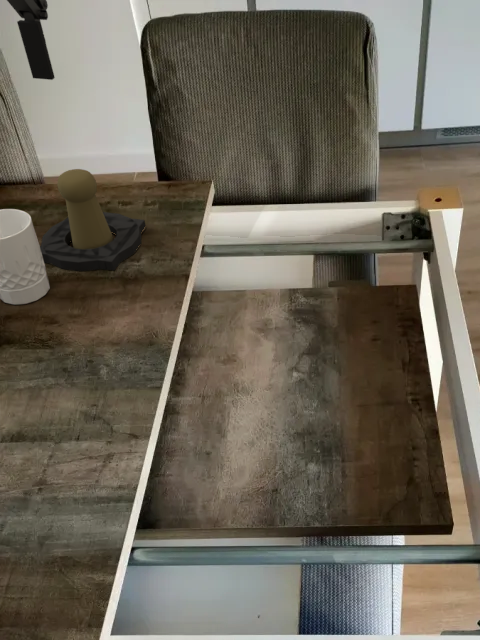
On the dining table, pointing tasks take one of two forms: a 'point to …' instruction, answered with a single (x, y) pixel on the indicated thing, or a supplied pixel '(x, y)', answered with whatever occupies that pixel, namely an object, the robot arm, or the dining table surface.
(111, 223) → the base pad
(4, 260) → the white cup
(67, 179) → the olive pawn
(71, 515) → the dining table surface
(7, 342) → the dining table surface
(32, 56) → the robot arm
